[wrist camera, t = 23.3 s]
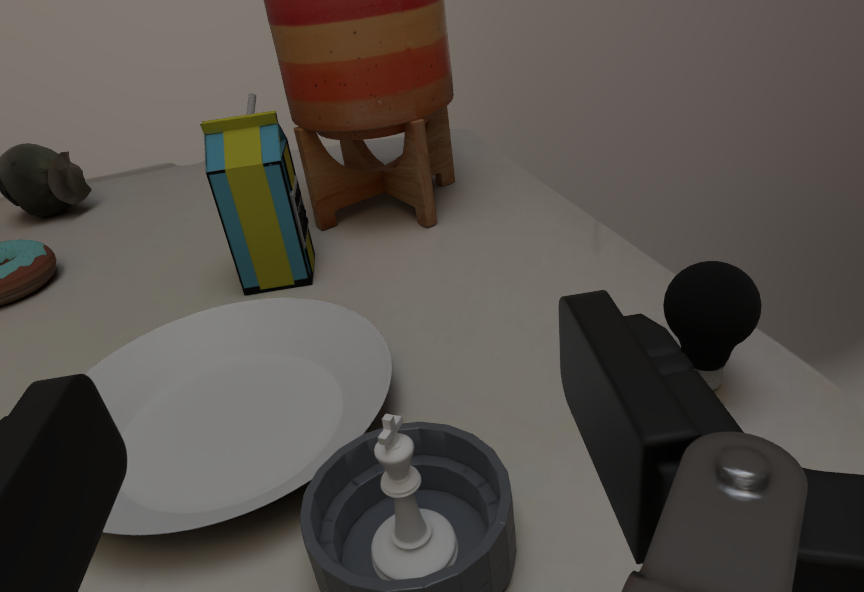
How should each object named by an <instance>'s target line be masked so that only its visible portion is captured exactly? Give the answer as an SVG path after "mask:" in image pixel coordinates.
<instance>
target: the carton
mask: <svg viewBox="0 0 864 592" xmlns="http://www.w3.org/2000/svg"><path fill="white" fill-rule="evenodd" d="M255 103H256V95H254V94H249V97H248V108H247V115H244V116H236V117H229V118H223V119H216V120H209V121H203V122H202V124H200V125H201V127H202V130H203V132H204V141H205V165H206V175H207V178H208V181H209V184H210V187H211V190H212V194H213V197H214V200H215V203H216V206H217V210H218V213H219V216H220V219H221V222H222V225H223V229H224V232H225V235H226V238H227V241H228V244H229V248H230V251H231V254H232V257H233V260H234V264H235V267H236V270H237V273H238V276H239V279H240V283H241V286H242V289H243V292H244V295H249V294H256V293H262V292H268V291H274V290H280V289H286V288H293V287H299V286H305V285H311V284H312V280H313V270H314V258H315V253H314V249H313V244H312V240H311V236H310V232H309V228H308V218H307V217H306V210H305V209H304V208H305V207H304V204H303V200H302V196H301V191H300V188H299V184H298V179H297V176H296V173H295V169H294V165H293V161H292V157H291V153H290V149H289V144H288V140H287V138H286V136H285V134H284V132H283V130H282V129H281V127H280V125H279V123H278V120H277V114H276V111H269V112H263V113H256V114H254V111H255Z"/></svg>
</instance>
